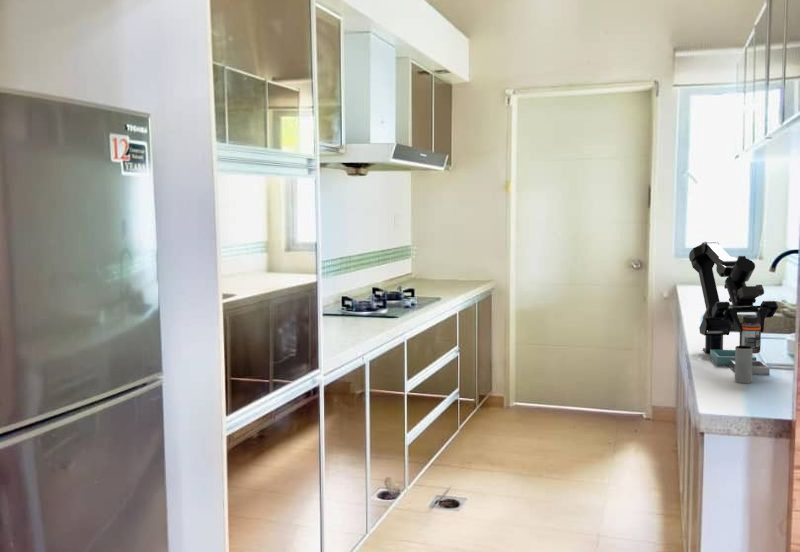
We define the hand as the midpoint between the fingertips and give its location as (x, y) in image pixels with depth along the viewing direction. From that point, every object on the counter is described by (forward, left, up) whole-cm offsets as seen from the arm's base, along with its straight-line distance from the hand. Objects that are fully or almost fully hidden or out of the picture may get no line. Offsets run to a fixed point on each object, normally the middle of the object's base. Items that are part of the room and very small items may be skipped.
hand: (752, 331), depth 228 cm
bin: (-13, -3, -12) cm, 18 cm away
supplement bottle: (-1, 0, -7) cm, 7 cm away
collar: (-1, 0, -12) cm, 13 cm away
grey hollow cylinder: (+13, -5, -13) cm, 19 cm away
